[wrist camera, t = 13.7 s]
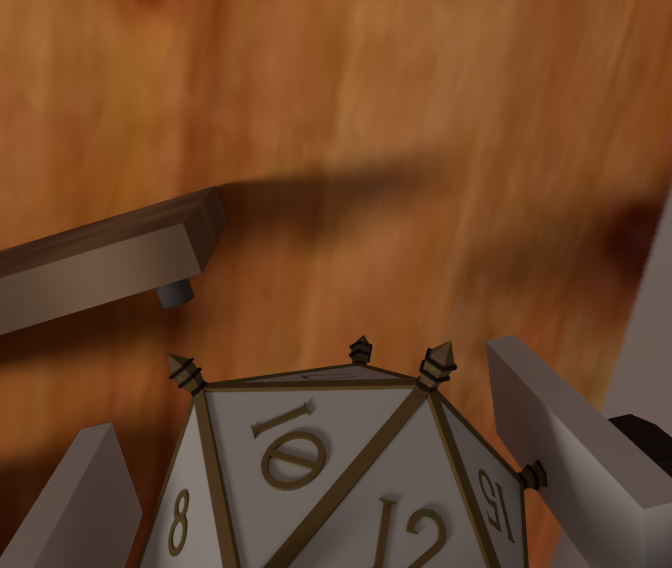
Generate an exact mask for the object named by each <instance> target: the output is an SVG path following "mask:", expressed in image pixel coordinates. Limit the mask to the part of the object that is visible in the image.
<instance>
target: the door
mask: <svg viewBox="0 0 672 568" xmlns="http://www.w3.org/2000/svg"><path fill="white" fill-rule="evenodd" d="M227 221H228V219H227V217H226V214H225V211H224V208H223V205H222V202H221V199H220V197H219V194H218V191H217V188H216V186H213V187H210V188H206V189H203V190H200V191H197V192H193V193H190V194H187V195H183V196H180V197H177V198H173V199H170V200H167V201H164V202H160V203H157V204H154V205H150V206H147V207H144V208H140V209H137V210H134V211H131V212H127V213H124V214H121V215H117V216H114V217H111V218H107V219H104V220H101V221H98V222H94V223H91V224H88V225H84V226H81V227H78V228H75V229H71V230H68V231H65V232H61V233H58V234H55V235H51V236H48V237H45V238H42V239H38V240H35V241H32V242H28V243H25V244H22V245H18V246H15V247H12V248H9V249H5V250H2V251H0V335H2V334H6V333H9V332H12V331H15V330H19V329H22V328H25V327H29V326H32V325H35V324H38V323H42V322H45V321H48V320H52V319H55V318H58V317H61V316H65V315H68V314H71V313H75V312H78V311H81V310H84V309H88V308H91V307H94V306H98V305H101V304H104V303H107V302H111V301H114V300H117V299H121V298H124V297H127V296H130V295H134V294H137V293H140V292H144V291H147V290H150V289H153V288H155V289H156V292H157V294H158V297H159V299H160V302H161V304H162V306H163V308H172V307H176V306H179V305H181V304H184V303H186V302H188V301H190V300H191V299H192V298H193V297H194V293H193V291H192V288H191V286H190V283H189V281H188V278H190V277H193V276H196V275H199V274H202V273H203V271H204V268H205V266H206V264H207V262H208V260H209V258H210V256H211V254H212V252H213V250H214V248H215V246H216V244H217V242H218V240H219V237H220V235H221V233H222V231H223V229H224V227H225V225H226V223H227Z"/></svg>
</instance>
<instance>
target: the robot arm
mask: <svg viewBox="0 0 672 568" xmlns="http://www.w3.org/2000/svg"><path fill="white" fill-rule="evenodd" d="M485 343H486V351H487V359H488V368H489V376H490V384H491V392H492V400H493V408H494V417H495V425H496V433H497V435H498V436H499V438H500V439H501V440H502V442H503V443H504V445H505V446H506V448H507V449H508V450H509V452H510V453H511V455H512V456H513V458H514V459H515V461H516V462H517V463H518V465H519V466H520V468H521V469H522V470H523V469H524V468H525V466H526V465H527V464H529V465H530V466H531V465H533V464H534V463H535V462H536V461H537V460H539V461H540V463H541V465H542V467H543V469H544V470H545V472H546V476H547V487H548V488H547V487H545V486H542V487H539V490H536V491H537V492H538V494H539V495H540V496H541V498H542V499H543V501H544V502H545V504H546V505H547V506H548V508H549V509H550V511H551V512H552V514H553V515H554V516H555V518H556V519H557V521H558V522H559V524H560V525H561V527H562V528H563V529H564V531H565V532H566V534H567V535H568V537H569V538H570V539H571V541H572V542H573V544H574V545H575V546H576V548H577V549H578V551H579V552H580V554H581V555H582V557H583V558H584V560H585V561H586V562H587V564H588V565H589V567H590V568H672V437H670V436H669V435H668V434H667V433H665V432H664V431H663V430H662V429H660V428H659V427H658V426H657V425H655V424H653V423H651V422H648V421H646V420H644V419H641V418H639V417H636V416H634V415H632V414H628V415H624V416H620V417H615V418H610V419H606V418H605V417H604V416H603V415H602V414H601V413H600V412H599V411H598V410H597V409H595V408H594V407H593V406H592V405H591V404H590V403H589V402H588V401H587V400H586V399H584V398H583V397H582V396H581V395H580V394H579V393H578V392H577V391H576V390H575V389H574V388H572V387H571V386H570V385H569V384H568V383H567V382H566V381H565V380H564V379H563V378H561V377H560V376H559V375H558V374H557V373H556V372H555V371H554V370H553V369H552V368H550V367H549V366H548V365H547V364H546V363H545V362H544V361H543V360H542V359H541V358H539V357H538V356H537V355H536V354H535V353H534V352H533V351H532V350H531V349H530V348H529V347H527V346H526V345H525V344H524V343H523V342H522V341H521V340H520V339H519V338H518V337H516V336H515V335H514V334H513V335H508V336H504V337H499V338H495V339H490V340H486V341H485ZM142 515H143V512H142V509H141V506H140V503H139V500H138V497H137V494H136V492H135V489H134V486H133V483H132V480H131V477H130V474H129V471H128V468H127V466H126V463H125V460H124V457H123V454H122V451H121V448H120V445H119V442H118V440H117V437H116V434H115V431H114V428H113V425H112V422H111V423H107V424H102V425H98V426H93V427H88V428H84V429H81V430H80V432H79V433H78V435H77V436H76V438H75V439H74V441H73V443H72V444H71V446H70V447H69V449H68V451H67V452H66V454H65V455H64V457H63V459H62V460H61V462H60V463H59V465H58V467H57V468H56V470H55V471H54V473H53V474H52V476H51V478H50V479H49V481H48V482H47V484H46V486H45V487H44V489H43V490H42V492H41V494H40V495H39V497H38V498H37V500H36V502H35V503H34V505H33V506H32V508H31V510H30V511H29V513H28V514H27V516H26V517H25V519H24V521H23V522H22V524H21V525H20V527H19V529H18V530H17V532H16V533H15V535H14V537H13V538H12V540H11V541H10V543H9V545H8V546H7V548H6V549H5V551H4V553H3V554H2V556H1V557H0V568H125V565H126V562H127V559H128V556H129V553H130V551H131V548H132V545H133V542H134V539H135V536H136V533H137V530H138V527H139V524H140V521H141V518H142Z"/></svg>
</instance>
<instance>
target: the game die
mask: <svg viewBox="0 0 672 568" xmlns="http://www.w3.org/2000/svg"><path fill="white" fill-rule="evenodd" d="M350 349H352V350H351V353H350V354H349V356H350V357H351V358H352V362H353V363H352V364H345V365H337V366H330V367H323V368H315V369H308V370H301V371H293V372H286V373H279V374H272V375H264V376H257V377H250V378H242V379H235V380H228V381H220V382H213V383H207V382H205V381H204V380H203V378H202V376H201V373H200V371H201V370H202V369H201V368H200V367H199V368H197V367H196V366H195V365H194V363H193V362H192V361H193V360H194V359H193V357H192V358H191V359H187V358H184V357H180V356H176V355H173V354H169V353H166V354H167V359H168V364H169V369H170V374H171V376H170V377H169V378H170V379H172V378H173V379H174V380H175V381H176V382H177V383H178V384H179V385H178V387H179V388H184V389H185V390H187V391H189V392H190V393H191V394H192V399H191V402H190V405H189V408H188V411H187V414H186V417H185V420H184V423H183V426H182V429H181V432H180V435H179V438H178V441H177V444H176V447H175V450H174V453H173V456H172V459H171V462H170V465H169V468H168V471H167V474H166V477H165V480H164V483H163V486H162V489H161V492H160V495H159V498H158V501H157V504H156V507H155V510H154V513H153V516H152V519H151V522H150V525H149V528H148V531H147V534H146V537H145V540H144V543H143V546H142V549H141V552H140V555H139V558H138V561H137V564H136V567H135V568H529V563H528V548H527V533H526V518H525V502H524V490H525V489H527V488H533V489H535V490H539V487H542V486H545V487H547V476H546V472H545V470H544V469H543V467H542V465H541V463H540V461H539V460H537V461H536V462H535V463H534V464H533V465H531V466H530V465H529V464H527V465H526V466H525V468H524V469H523V470H522V472H520V473H517V472H516V471H515V470H514V469H513V468H512V467H511V466H510V465H509V464H508V463H507V462H506V461H505V460H504V459H503V458H502V457H501V456H500V455H499V454H498V453H497V451H496V450H495V449H494V448H493V447H492V446H491V445H490V444H489V443H488V442H487V441H486V440H485V439H484V438H483V437H482V436H481V435H480V434H479V433H478V432H477V430H476V429H475V428H474V427H473V426H472V425H471V424H470V423H469V422H468V421H467V420H466V419H465V418H464V417H463V416H462V415H461V414H460V413H459V412H458V411H457V409H456V408H455V407H454V406H453V405H452V404H451V403H450V402H449V401H448V400H447V399H446V398H445V397H444V396H443V395H442V394H441V393H440V392H439V391H438V390H437V388H438V386H439V385H440V384H441V383H442V382H445V381H449V379H450V377H449V376H448V375H449V374H450V372H451V371H453V370H456V369H457V368H458V367H457V366H456V365H455V363H454V359H453V351H452V344H451V341H449V342H446V343H444V344H442V345H440V346H438V347H436V348H433V349H430V348H428V349H427V352H426V356H425V360H422V362H421V366H420V370H419V372H421V375H420V376H419V377H418V378H415V377H411V376H407V375H404V374H400V373H396V372H392V371H388V370H384V369H380V368H377V367H373V366H369V365H366V364H367V362H370V356H371V351H372V345H371V344H369V342H368V341H367V339H366V338H365V336H364V335H363V336H362V337H361V338H360V339H359V340H358V341H357V342H356V343H354V344H352V345H350ZM547 488H548V487H547Z"/></svg>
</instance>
